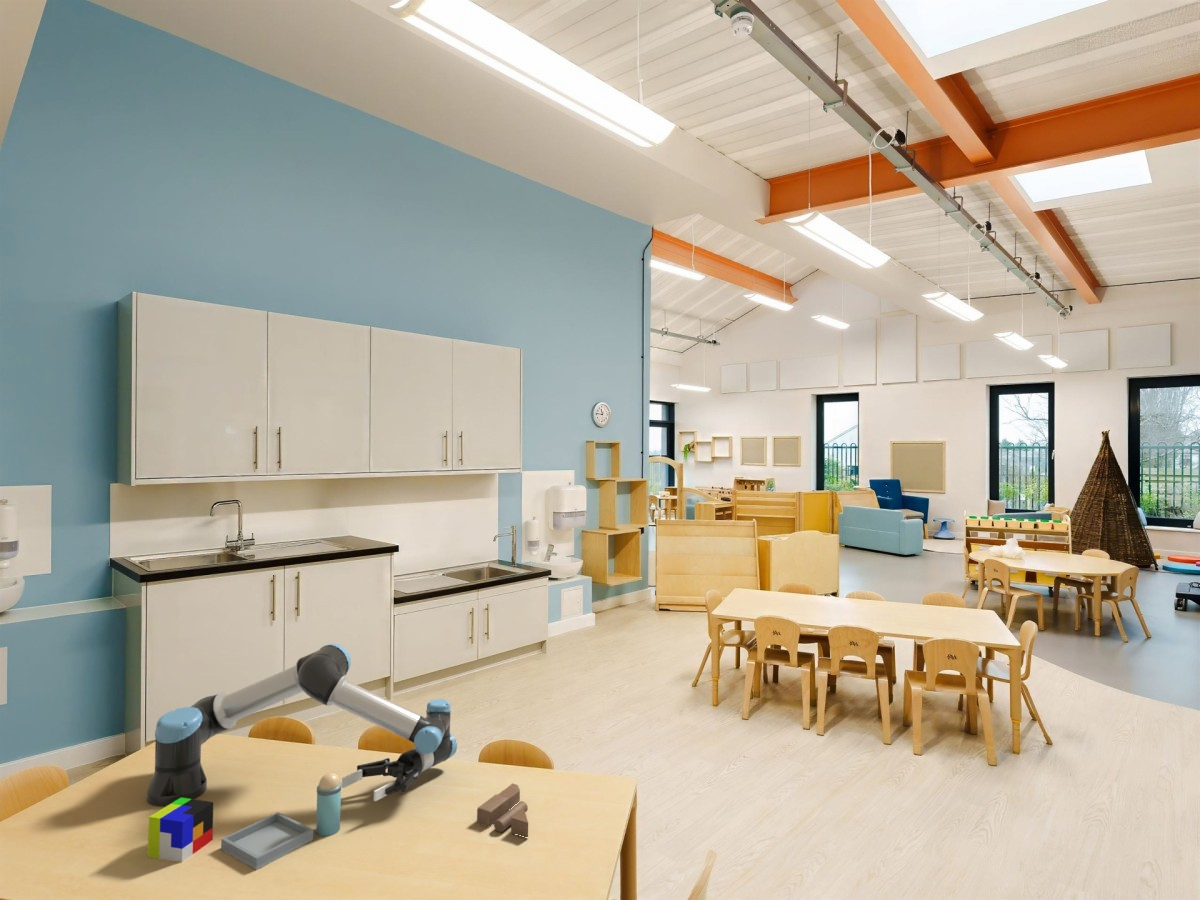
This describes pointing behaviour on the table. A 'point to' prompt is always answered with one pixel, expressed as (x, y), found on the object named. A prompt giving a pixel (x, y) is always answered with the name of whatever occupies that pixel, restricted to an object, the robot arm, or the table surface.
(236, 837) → the tray
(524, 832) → the wooden block set
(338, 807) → the ball tube
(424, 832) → the table surface
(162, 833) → the puzzle toy
